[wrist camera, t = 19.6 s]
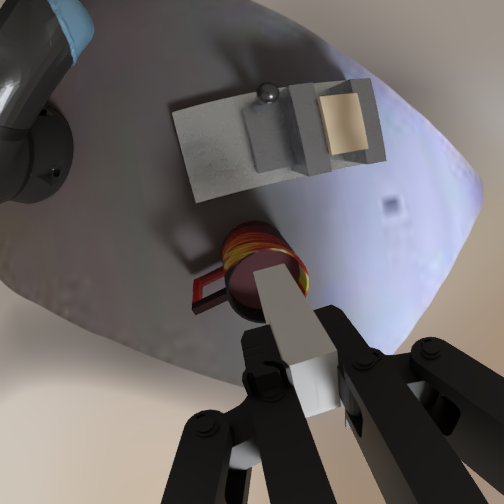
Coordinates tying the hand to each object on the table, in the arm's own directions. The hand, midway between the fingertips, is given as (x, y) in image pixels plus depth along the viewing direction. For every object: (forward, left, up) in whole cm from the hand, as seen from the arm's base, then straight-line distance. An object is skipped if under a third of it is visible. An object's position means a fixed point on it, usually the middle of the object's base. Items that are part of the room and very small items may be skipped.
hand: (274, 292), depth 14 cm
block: (+14, +7, -28) cm, 32 cm away
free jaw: (+8, +7, -28) cm, 30 cm away
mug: (-1, -10, -30) cm, 32 cm away
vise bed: (+8, +7, -29) cm, 31 cm away
